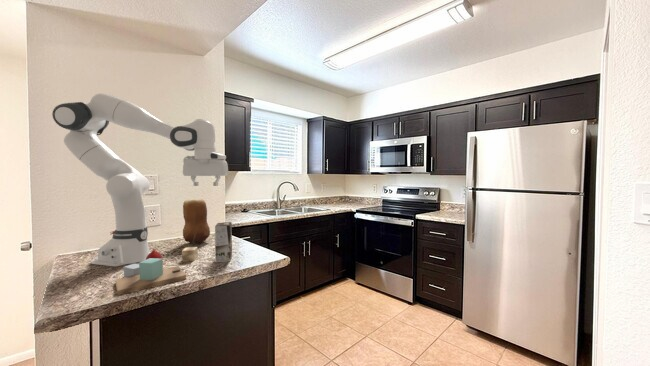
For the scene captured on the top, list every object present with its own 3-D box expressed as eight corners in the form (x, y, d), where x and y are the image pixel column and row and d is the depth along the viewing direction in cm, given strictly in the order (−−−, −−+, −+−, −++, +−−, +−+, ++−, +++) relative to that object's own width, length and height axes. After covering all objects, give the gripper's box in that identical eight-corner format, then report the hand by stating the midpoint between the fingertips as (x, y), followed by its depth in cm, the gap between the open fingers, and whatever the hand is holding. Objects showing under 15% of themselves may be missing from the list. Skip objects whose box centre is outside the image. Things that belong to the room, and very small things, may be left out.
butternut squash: (194, 239, 155) (193, 197, 154) (215, 241, 152) (214, 197, 151) (176, 246, 141) (175, 199, 140) (199, 247, 139) (198, 200, 138)
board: (117, 295, 85) (117, 288, 85) (115, 283, 94) (115, 277, 94) (186, 278, 98) (186, 273, 98) (178, 269, 107) (178, 264, 107)
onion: (143, 269, 108) (142, 250, 107) (158, 265, 113) (157, 246, 112) (150, 272, 105) (149, 252, 104) (165, 267, 110) (165, 248, 109)
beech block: (182, 261, 117) (181, 250, 117) (186, 258, 122) (185, 247, 122) (194, 261, 118) (194, 250, 118) (197, 257, 123) (197, 246, 123)
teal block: (139, 279, 94) (139, 262, 94) (150, 274, 99) (150, 258, 99) (152, 280, 93) (152, 263, 93) (162, 274, 98) (162, 258, 98)
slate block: (124, 277, 100) (123, 266, 100) (135, 273, 104) (135, 263, 104) (133, 279, 98) (133, 269, 98) (144, 275, 102) (144, 265, 101)
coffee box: (230, 261, 117) (230, 225, 117) (215, 262, 116) (214, 226, 115) (232, 255, 126) (232, 221, 126) (218, 256, 125) (217, 222, 124)
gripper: (179, 155, 119) (180, 186, 120) (223, 155, 118) (223, 186, 118) (187, 156, 126) (188, 185, 126) (229, 155, 124) (229, 185, 125)
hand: (205, 185), depth 122 cm, fingers open, 8 cm apart
